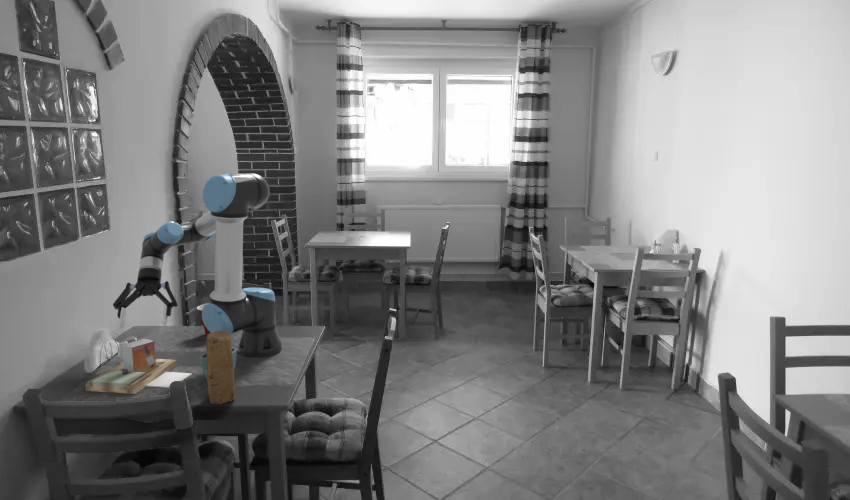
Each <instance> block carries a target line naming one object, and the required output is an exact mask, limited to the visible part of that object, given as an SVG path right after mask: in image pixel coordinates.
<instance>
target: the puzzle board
mask: <svg viewBox="0 0 850 500" xmlns="http://www.w3.org/2000/svg"><path fill="white" fill-rule="evenodd" d="M155 361H156V369H154V370H153V371H151V372H150V373H146V372H132V371H128V369H124V366H123V362H121V364H119V365H117V366H115V367H113V368H112V369H110V370H109V369H108V370H106V371H104V372H102V373H101V374H98V375H96V376H95V377H94V378H92V379H89V380H88V381H87V382H86V384H85V392H96V393H97V392H101V393H114V394H129V395H132V394H133V395H136V394H138V393H139V392H140V391H142V390H143V389H145V388H146V385H147V384H149V383H150V382H152V381H153V380H155V379H156V378H158V377H159V376H160V375H162V374H163V373H165V372H171V370H173V369H174V368H175V367H177V366H178V361H177V359H167V358H166V359H165V358H162V359H161V358H155Z"/></svg>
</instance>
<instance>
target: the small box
mask: <svg viewBox="0 0 850 500" xmlns="http://www.w3.org/2000/svg"><path fill="white" fill-rule="evenodd" d="M121 351H122V354H121V355H122V363H123V366H124V369H128V371H132V372H146V373H150V372H151V371H153V370H154V369H156V368H157V367H156V361H155V359H156V352H155V351H156V350H155V341H154V340H151V339H148V338H145V337H144V338H142V339H139V340H134V341H131V342H128V343H124V344H121Z"/></svg>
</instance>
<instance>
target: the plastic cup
mask: <svg viewBox="0 0 850 500" xmlns="http://www.w3.org/2000/svg"><path fill="white" fill-rule="evenodd" d="M209 303H210V302H208V303H204V304H201V305H198V306H196V310H197V311H198V312H199V315H200V319H201V323H202V327H203V329H204V334H205V336H206V337H207V335H208V334H209V333H211V332H210V331H209V330H208V329H207V327H206V326H205V325H204V322H203V319H202V309H203V308H204V306H205V305H206V304H209Z"/></svg>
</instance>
